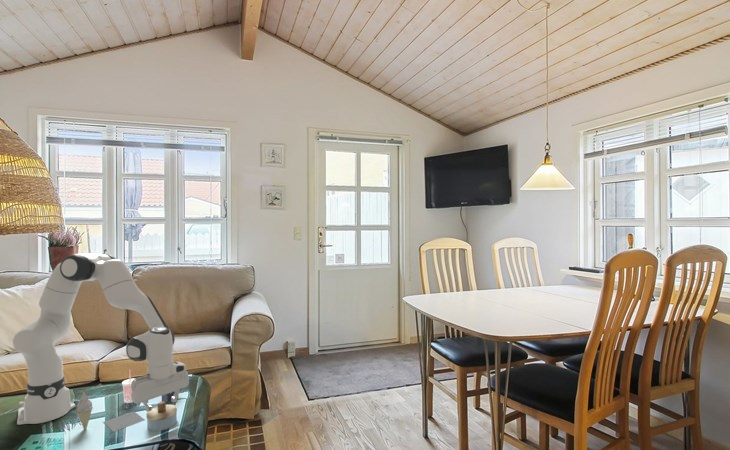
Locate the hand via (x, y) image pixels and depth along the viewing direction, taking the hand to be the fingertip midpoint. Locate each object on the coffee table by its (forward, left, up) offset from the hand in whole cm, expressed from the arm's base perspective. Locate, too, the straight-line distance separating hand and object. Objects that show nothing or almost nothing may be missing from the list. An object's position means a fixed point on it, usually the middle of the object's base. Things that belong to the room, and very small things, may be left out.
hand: (161, 406), depth 154 cm
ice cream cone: (-19, -20, -8) cm, 29 cm away
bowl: (0, 0, -8) cm, 8 cm away
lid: (0, 0, -3) cm, 3 cm away
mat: (-14, -8, -8) cm, 18 cm away
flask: (-21, +12, -8) cm, 25 cm away
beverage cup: (-31, 0, -8) cm, 32 cm away
